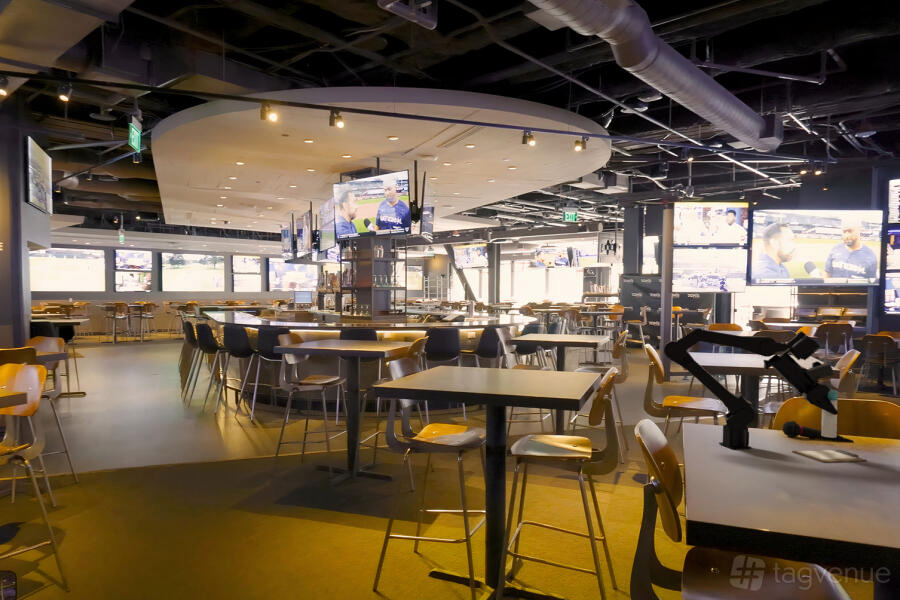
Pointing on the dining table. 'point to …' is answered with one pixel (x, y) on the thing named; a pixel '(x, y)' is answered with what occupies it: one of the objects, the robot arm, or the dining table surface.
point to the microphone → (808, 432)
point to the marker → (830, 417)
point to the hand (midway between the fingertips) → (834, 412)
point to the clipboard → (830, 455)
